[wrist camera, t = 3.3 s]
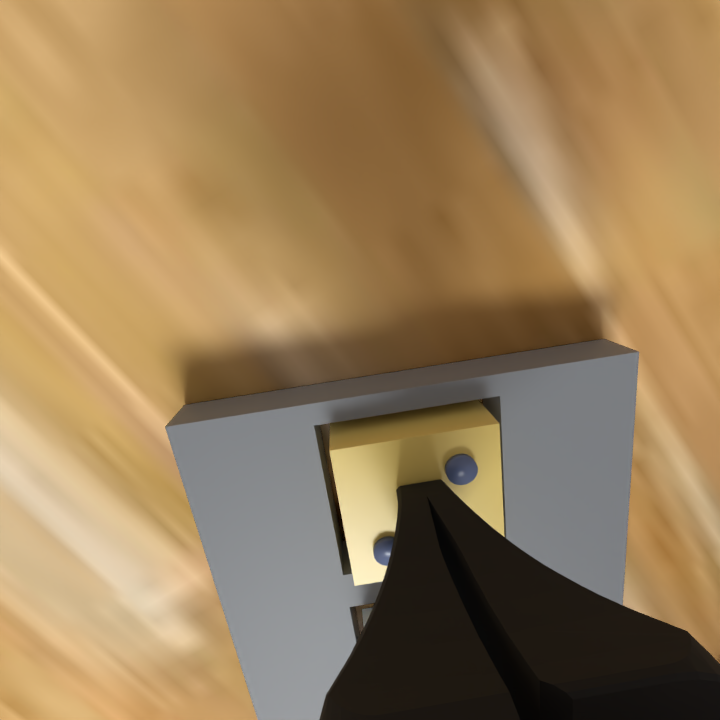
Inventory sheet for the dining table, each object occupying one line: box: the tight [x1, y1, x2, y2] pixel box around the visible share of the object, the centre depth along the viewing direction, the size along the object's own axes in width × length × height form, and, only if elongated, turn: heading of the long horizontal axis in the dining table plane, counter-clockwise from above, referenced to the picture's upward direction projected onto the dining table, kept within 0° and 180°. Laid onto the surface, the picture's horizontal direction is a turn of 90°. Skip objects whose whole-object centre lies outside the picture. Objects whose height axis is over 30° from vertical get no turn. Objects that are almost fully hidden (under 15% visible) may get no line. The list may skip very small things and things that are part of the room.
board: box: [165, 339, 639, 720], centre depth 16 cm, size 14×21×2 cm, turn 8°
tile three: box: [329, 400, 504, 586], centre depth 13 cm, size 5×5×2 cm
